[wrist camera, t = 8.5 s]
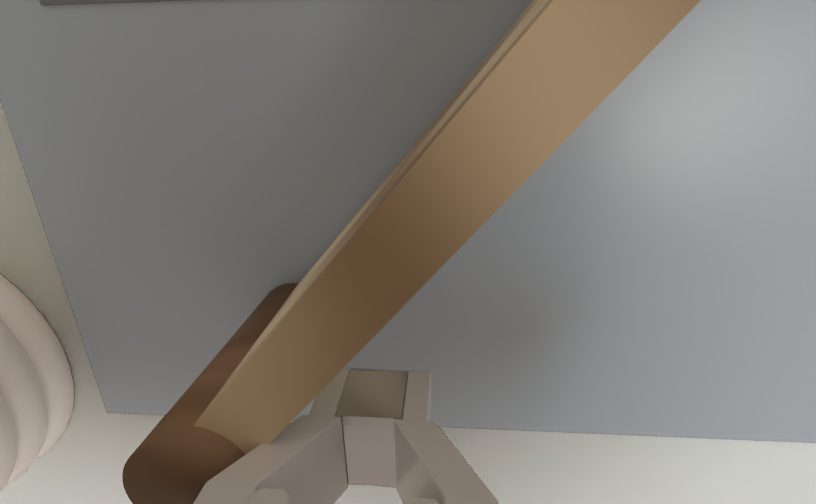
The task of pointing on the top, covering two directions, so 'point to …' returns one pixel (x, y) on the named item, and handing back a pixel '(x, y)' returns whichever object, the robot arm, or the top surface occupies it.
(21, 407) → the coaster
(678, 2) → the panel
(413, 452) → the robot arm
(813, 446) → the top surface
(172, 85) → the card
